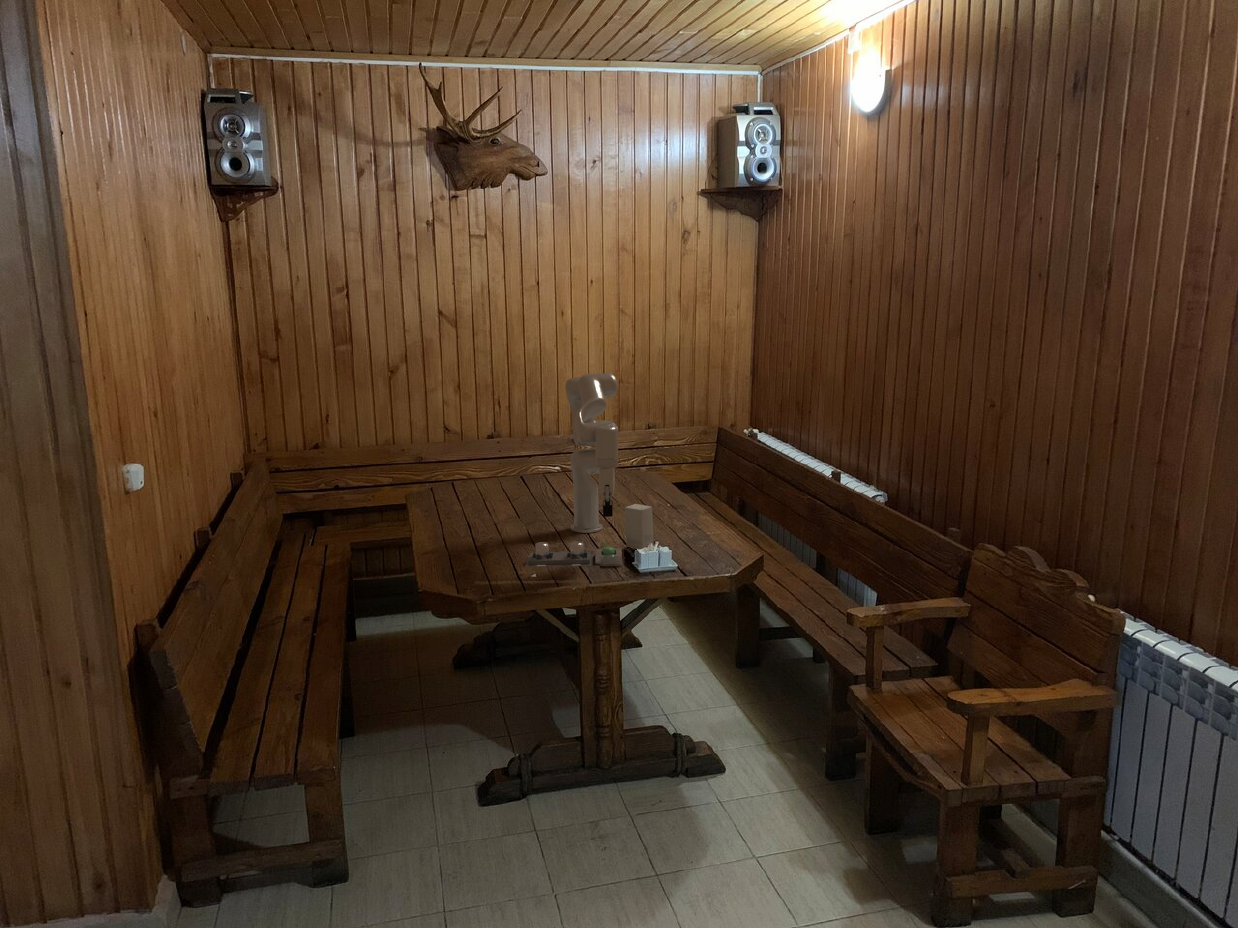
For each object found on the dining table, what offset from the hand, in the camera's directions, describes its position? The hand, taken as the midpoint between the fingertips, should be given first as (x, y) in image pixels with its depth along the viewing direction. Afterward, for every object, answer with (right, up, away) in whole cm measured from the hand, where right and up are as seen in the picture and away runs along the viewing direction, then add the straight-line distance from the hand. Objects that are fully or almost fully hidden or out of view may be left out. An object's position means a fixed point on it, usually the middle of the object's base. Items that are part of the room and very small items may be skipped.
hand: (607, 513), depth 308 cm
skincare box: (+11, -14, +19) cm, 26 cm away
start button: (0, -15, +3) cm, 15 cm away
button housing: (0, -17, +4) cm, 17 cm away
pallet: (-17, -17, +4) cm, 24 cm away
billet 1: (-23, -17, +3) cm, 28 cm away
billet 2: (-11, -16, +3) cm, 20 cm away
